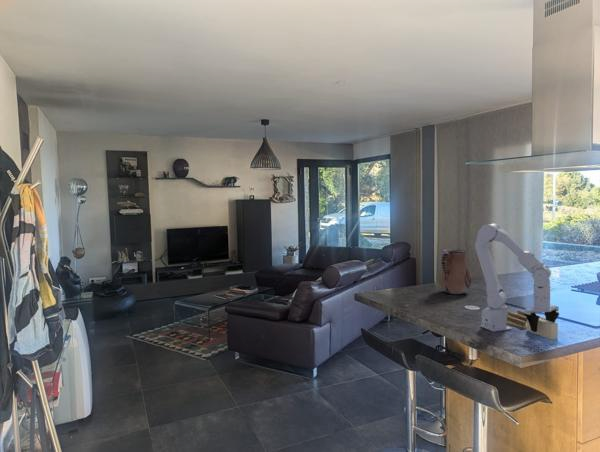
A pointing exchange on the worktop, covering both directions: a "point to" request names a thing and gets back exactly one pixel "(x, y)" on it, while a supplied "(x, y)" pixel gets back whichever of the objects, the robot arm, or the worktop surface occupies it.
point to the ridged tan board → (518, 319)
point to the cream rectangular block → (545, 329)
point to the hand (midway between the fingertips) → (541, 330)
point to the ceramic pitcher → (454, 272)
